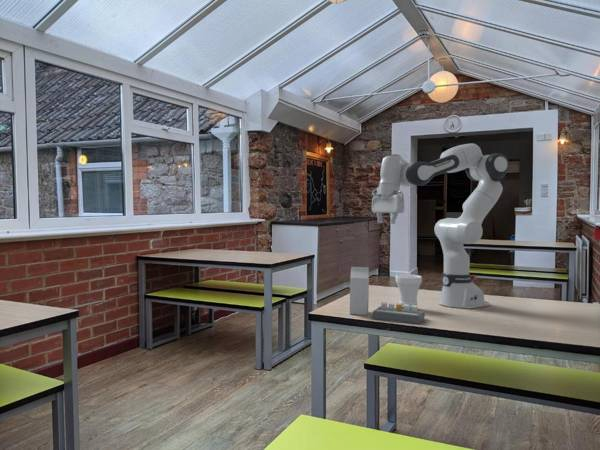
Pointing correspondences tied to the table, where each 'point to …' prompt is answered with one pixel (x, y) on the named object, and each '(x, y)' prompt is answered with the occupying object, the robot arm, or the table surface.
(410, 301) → the cup
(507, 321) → the table surface
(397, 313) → the switch box
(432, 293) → the table surface
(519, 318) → the table surface
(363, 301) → the milk carton
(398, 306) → the rocker switch
